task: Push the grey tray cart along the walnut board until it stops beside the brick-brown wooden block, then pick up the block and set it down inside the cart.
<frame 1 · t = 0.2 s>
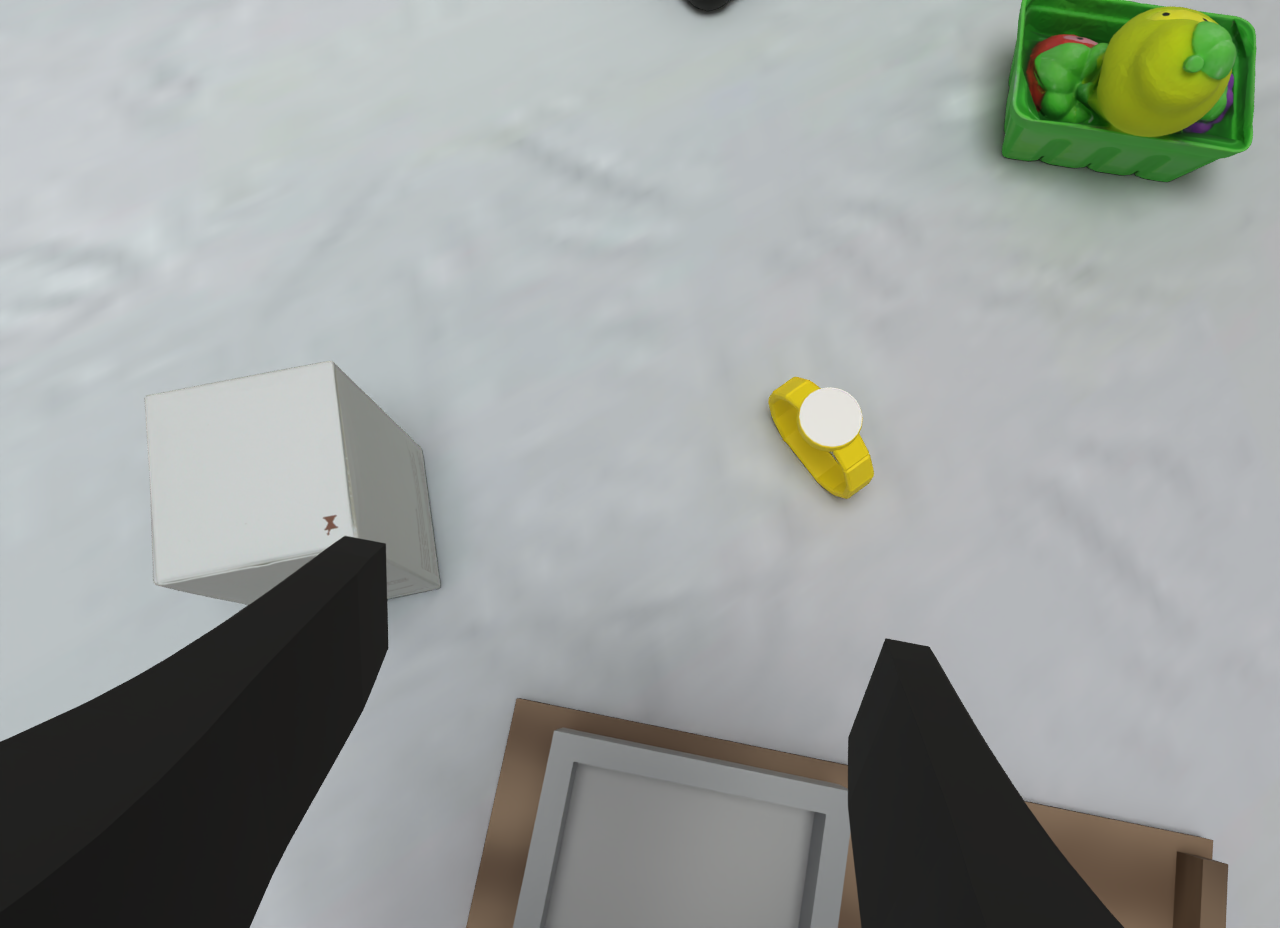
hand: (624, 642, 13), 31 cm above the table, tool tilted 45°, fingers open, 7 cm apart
cart: (671, 923, 37), point 4 cm above the table, slide at 0.0 cm
fruit basket: (1086, 141, 50), on the table
supplement box: (360, 531, 45), on the table
watch: (809, 453, 46), on the table
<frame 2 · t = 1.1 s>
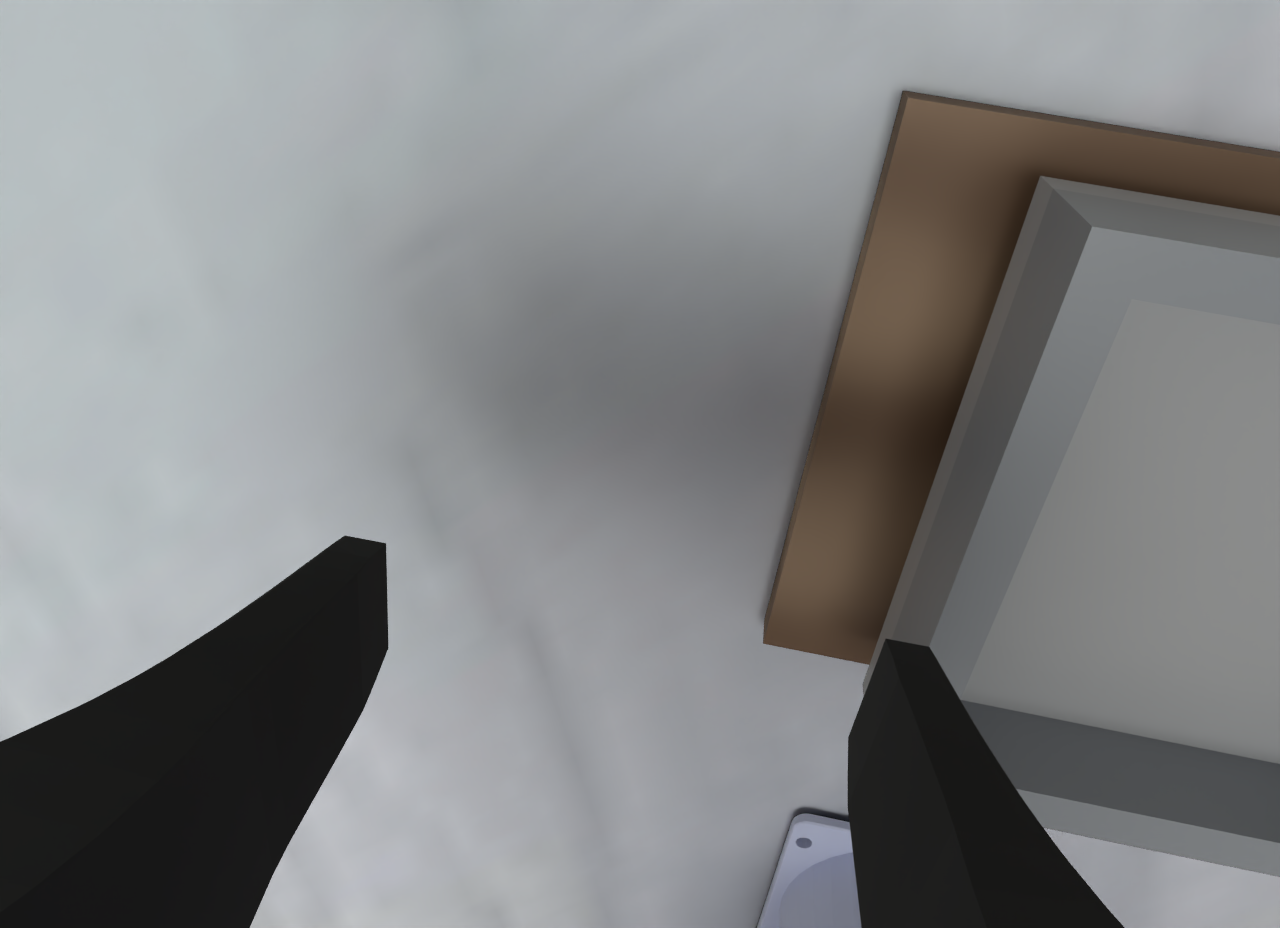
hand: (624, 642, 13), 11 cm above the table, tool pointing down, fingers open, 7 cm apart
cart: (1230, 548, 19), point 4 cm above the table, slide at 0.0 cm
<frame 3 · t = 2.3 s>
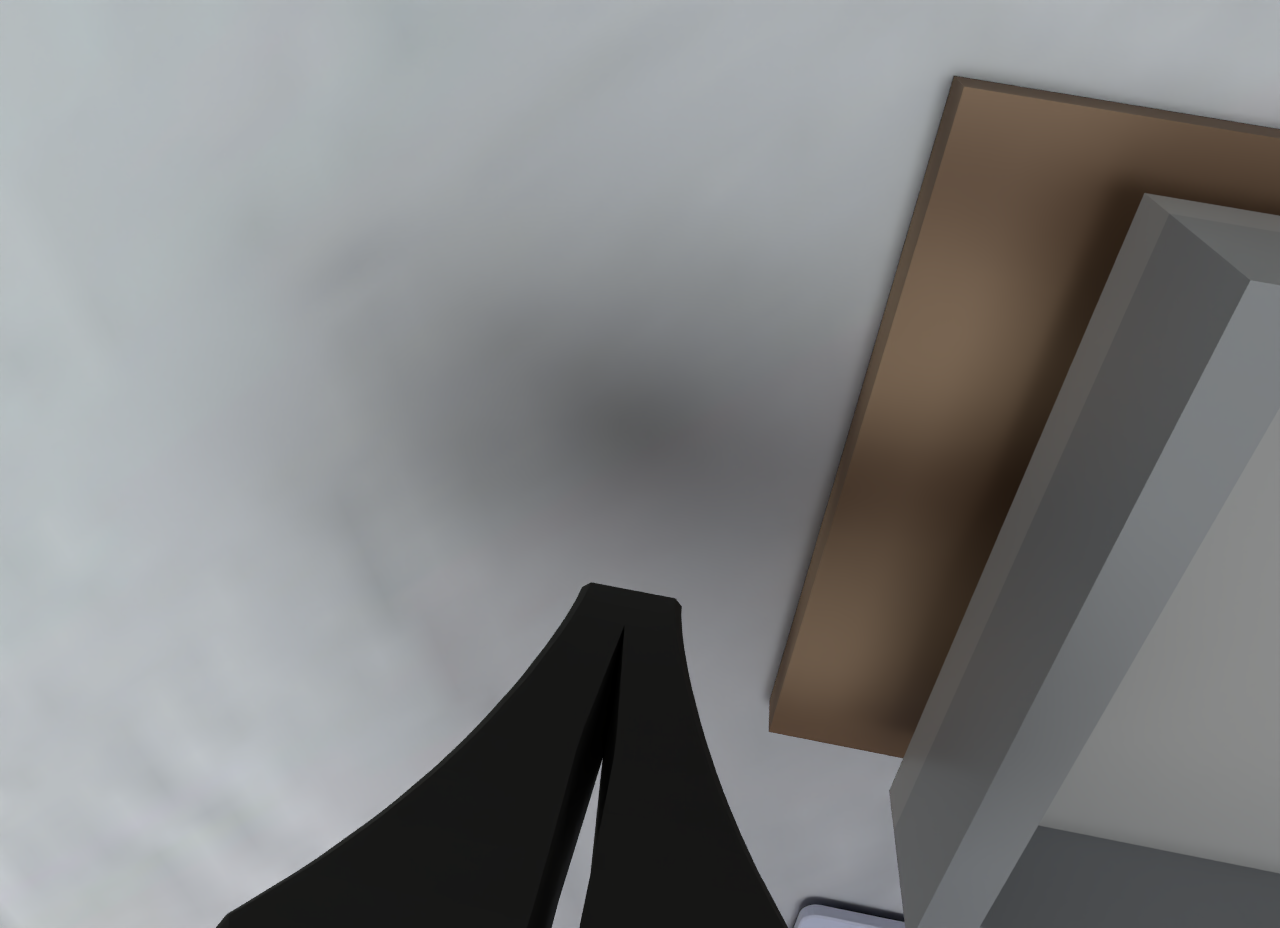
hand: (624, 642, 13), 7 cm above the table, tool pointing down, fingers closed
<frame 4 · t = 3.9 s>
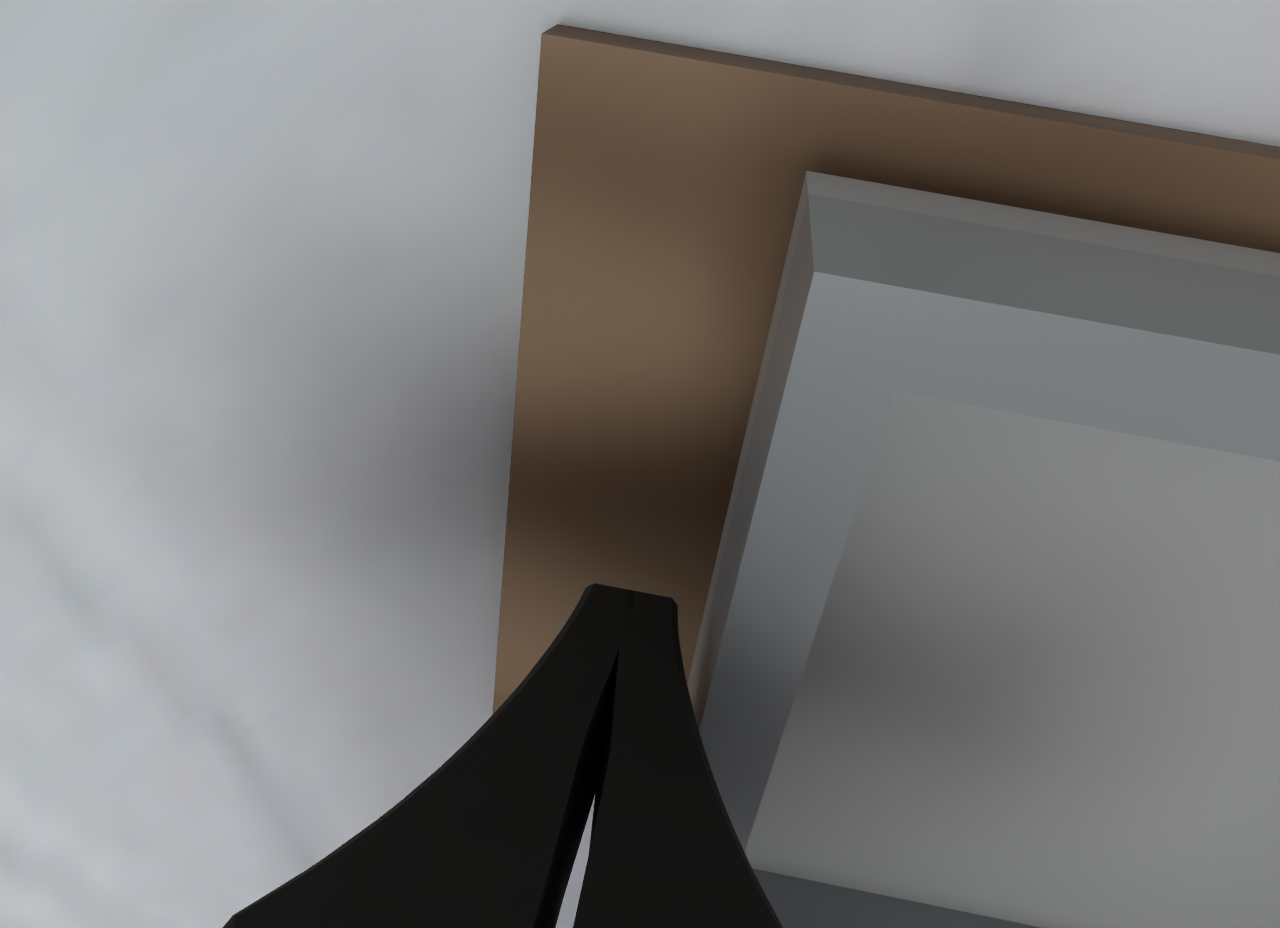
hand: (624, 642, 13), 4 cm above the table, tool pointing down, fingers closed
cart: (1108, 702, 14), point 4 cm above the table, slide at 1.2 cm, touching gripper
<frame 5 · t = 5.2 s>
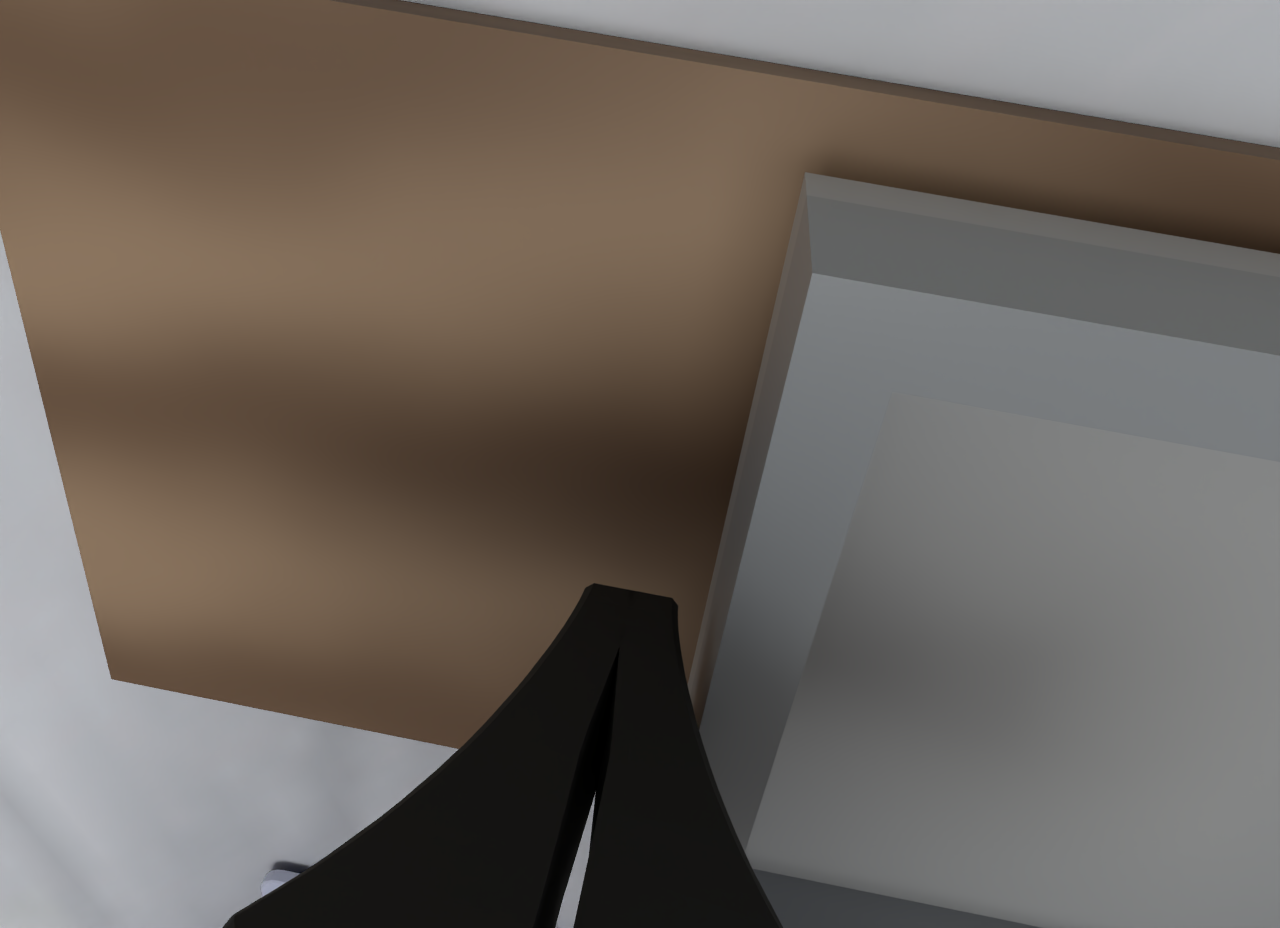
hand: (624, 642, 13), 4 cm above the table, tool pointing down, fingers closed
cart: (1108, 702, 14), point 4 cm above the table, slide at 9.8 cm, touching gripper
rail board: (892, 521, 17), on the table
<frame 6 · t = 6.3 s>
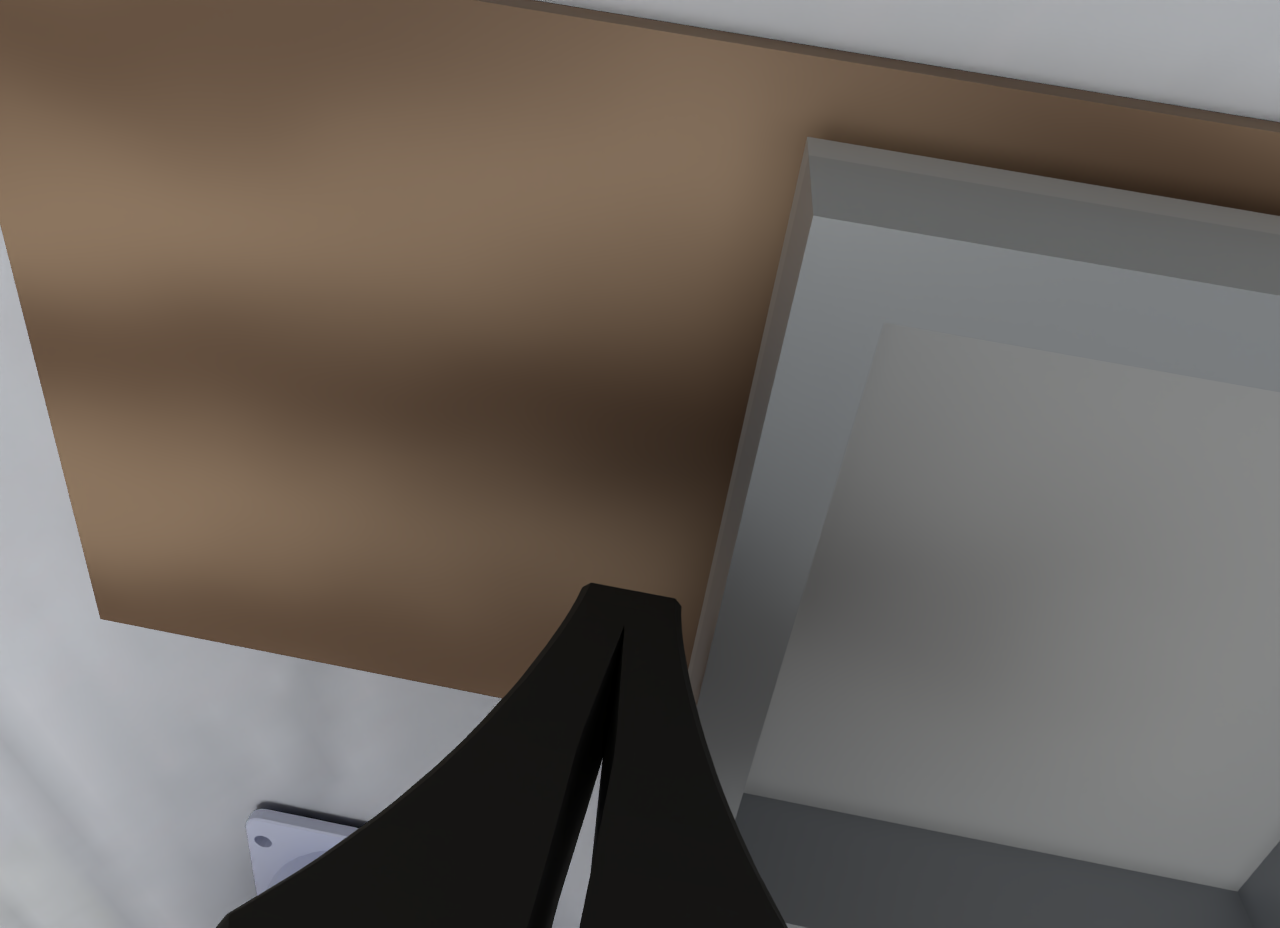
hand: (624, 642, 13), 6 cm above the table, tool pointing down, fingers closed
cart: (1087, 629, 15), point 4 cm above the table, slide at 11.2 cm
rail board: (821, 460, 18), on the table
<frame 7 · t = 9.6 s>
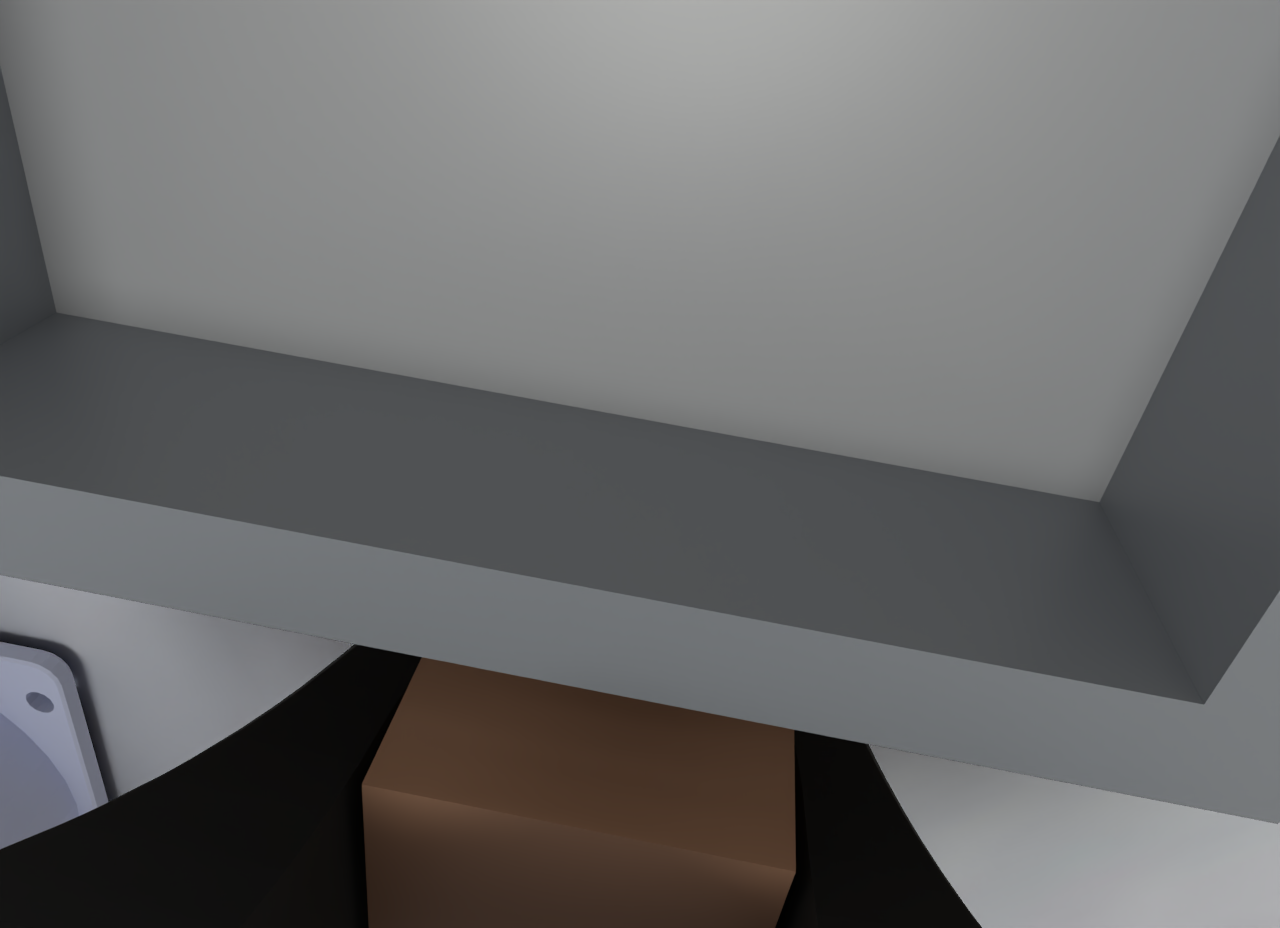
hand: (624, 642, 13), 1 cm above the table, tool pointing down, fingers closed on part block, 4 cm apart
part block: (637, 579, 14), on the table, touching gripper
when the fingers open (7 cm above the table, at t = 12.7 s): part block drops 1 cm, resting on cart.
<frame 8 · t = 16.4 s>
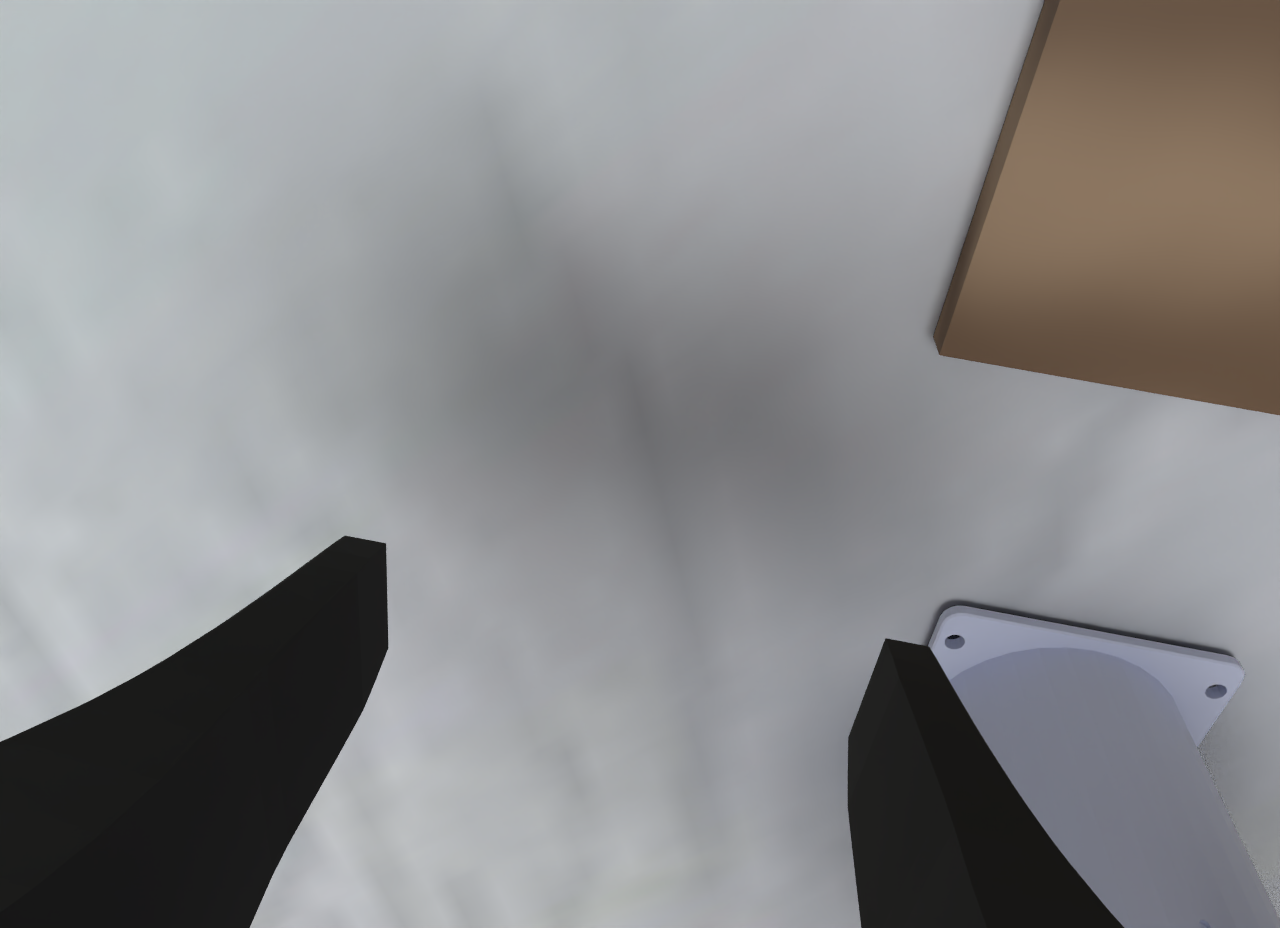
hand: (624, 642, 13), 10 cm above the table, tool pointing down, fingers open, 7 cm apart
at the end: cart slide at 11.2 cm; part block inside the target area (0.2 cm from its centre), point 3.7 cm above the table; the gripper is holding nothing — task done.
